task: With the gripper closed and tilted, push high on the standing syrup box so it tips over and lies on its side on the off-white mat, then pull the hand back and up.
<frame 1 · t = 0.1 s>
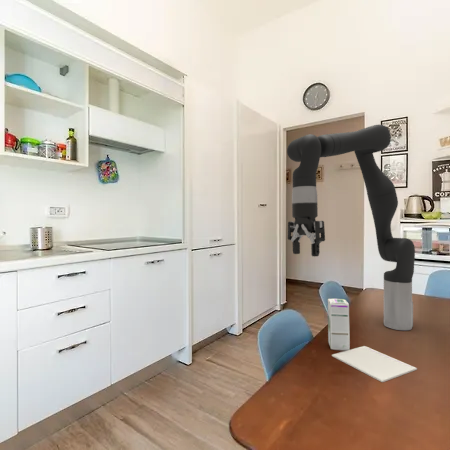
hand: (305, 255, 91), 29 cm above the table, tool pointing down, fingers open, 8 cm apart
off-white mat: (372, 362, 83), on the table
syrup box: (338, 347, 93), on the table
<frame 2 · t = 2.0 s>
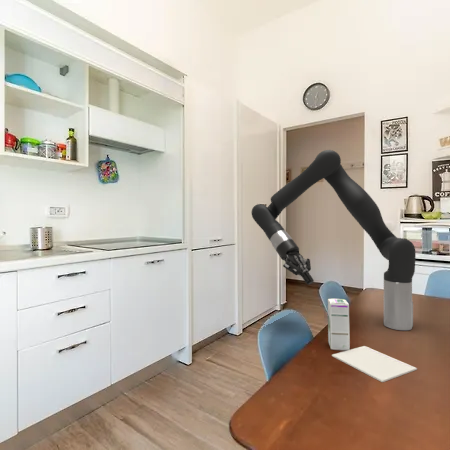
hand: (311, 282, 102), 18 cm above the table, tool tilted 45°, fingers closed
nothing on the table moved.
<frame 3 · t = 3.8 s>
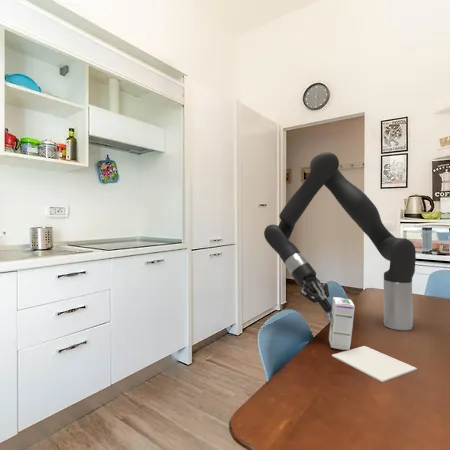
hand: (330, 311, 96), 10 cm above the table, tool tilted 45°, fingers closed
syrup box: (338, 345, 93), on the table, touching gripper
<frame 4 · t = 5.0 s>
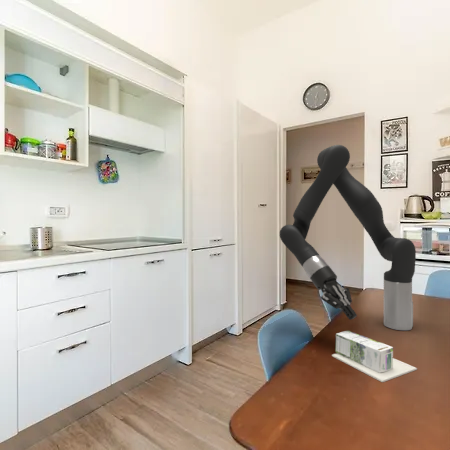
hand: (353, 317, 89), 10 cm above the table, tool tilted 45°, fingers closed
syrup box: (340, 340, 90), point 3 cm above the table, touching off-white mat
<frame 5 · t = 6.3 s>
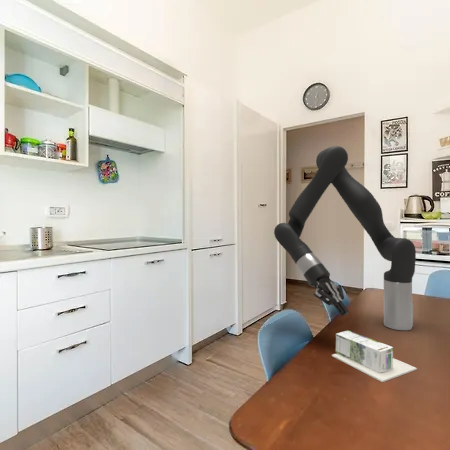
hand: (345, 314, 91), 11 cm above the table, tool tilted 45°, fingers closed
nothing on the table moved.
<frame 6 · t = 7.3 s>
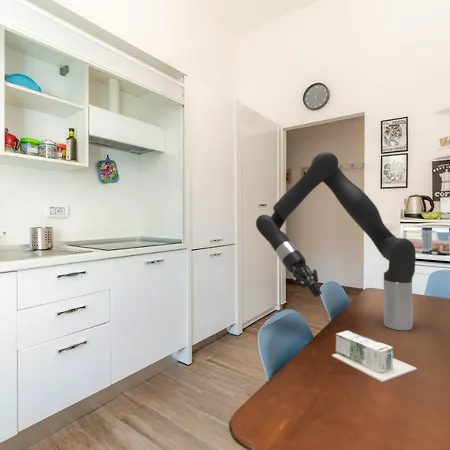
hand: (318, 295, 100), 14 cm above the table, tool tilted 45°, fingers closed
nothing on the table moved.
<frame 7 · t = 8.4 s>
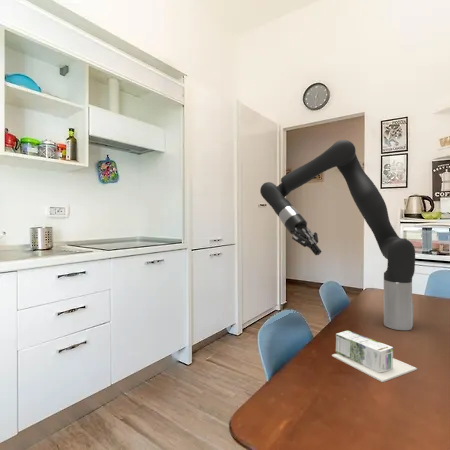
hand: (318, 253, 107), 28 cm above the table, tool tilted 45°, fingers closed
nothing on the table moved.
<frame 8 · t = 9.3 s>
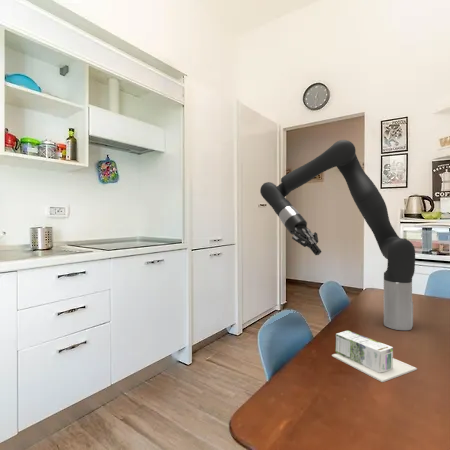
hand: (318, 253, 107), 28 cm above the table, tool tilted 45°, fingers closed
nothing on the table moved.
at the end: syrup box tilted 90°; syrup box touching off-white mat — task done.
